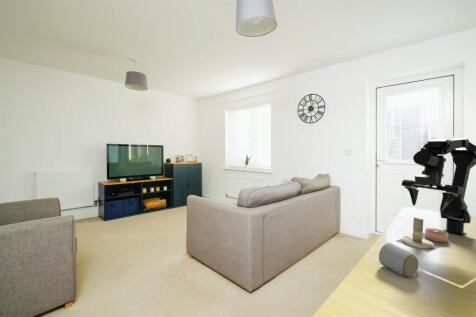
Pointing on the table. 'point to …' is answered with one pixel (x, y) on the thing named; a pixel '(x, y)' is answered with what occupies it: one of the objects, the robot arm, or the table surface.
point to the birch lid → (417, 236)
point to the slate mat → (436, 244)
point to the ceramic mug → (398, 260)
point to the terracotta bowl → (436, 235)
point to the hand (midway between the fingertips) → (426, 207)
